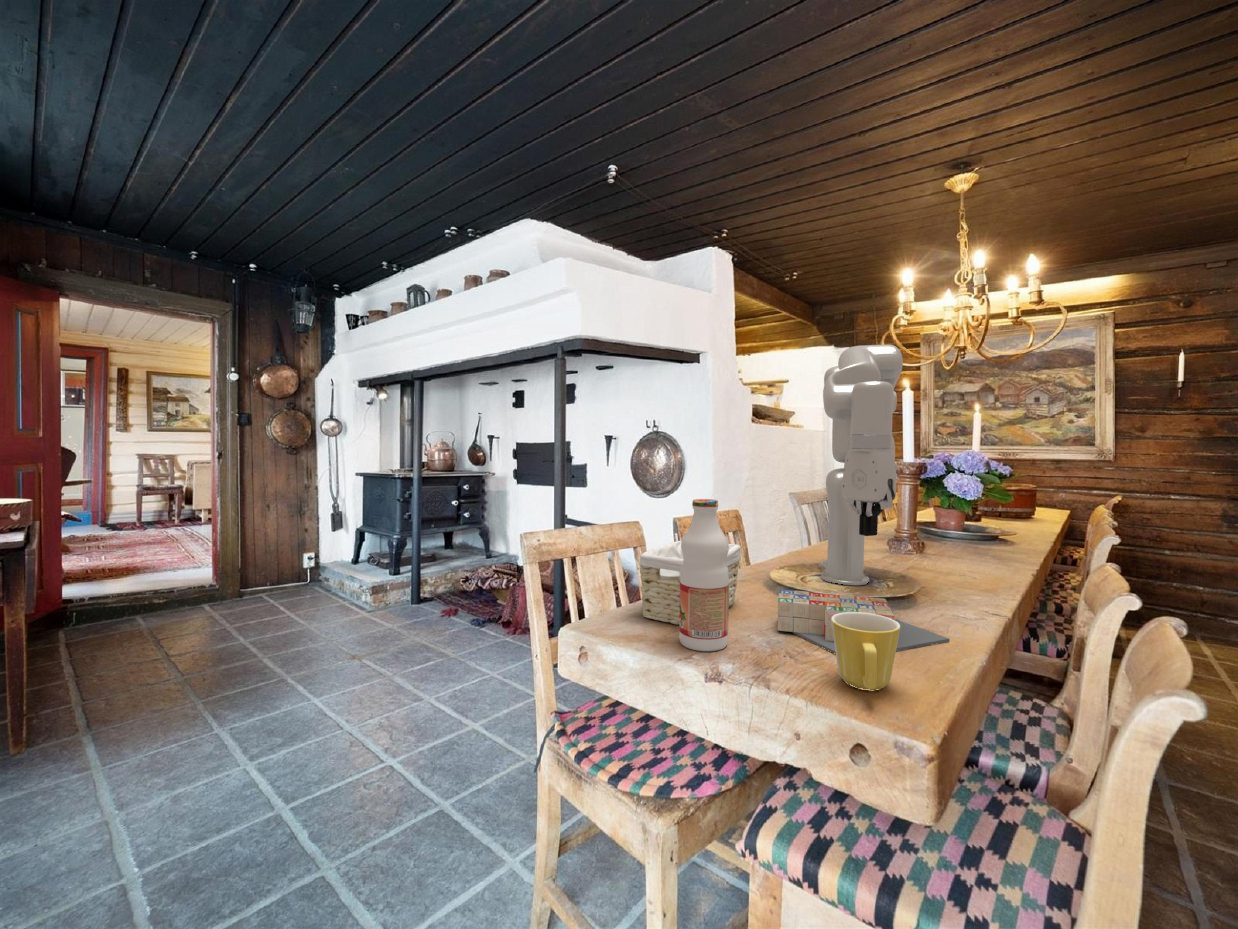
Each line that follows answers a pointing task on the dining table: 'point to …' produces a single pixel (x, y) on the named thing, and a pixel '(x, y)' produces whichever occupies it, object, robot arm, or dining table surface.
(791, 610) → the stack of blocks
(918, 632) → the rubber mat
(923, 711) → the dining table surface
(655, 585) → the storage basket
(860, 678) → the mug
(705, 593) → the fruit juice
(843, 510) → the robot arm
